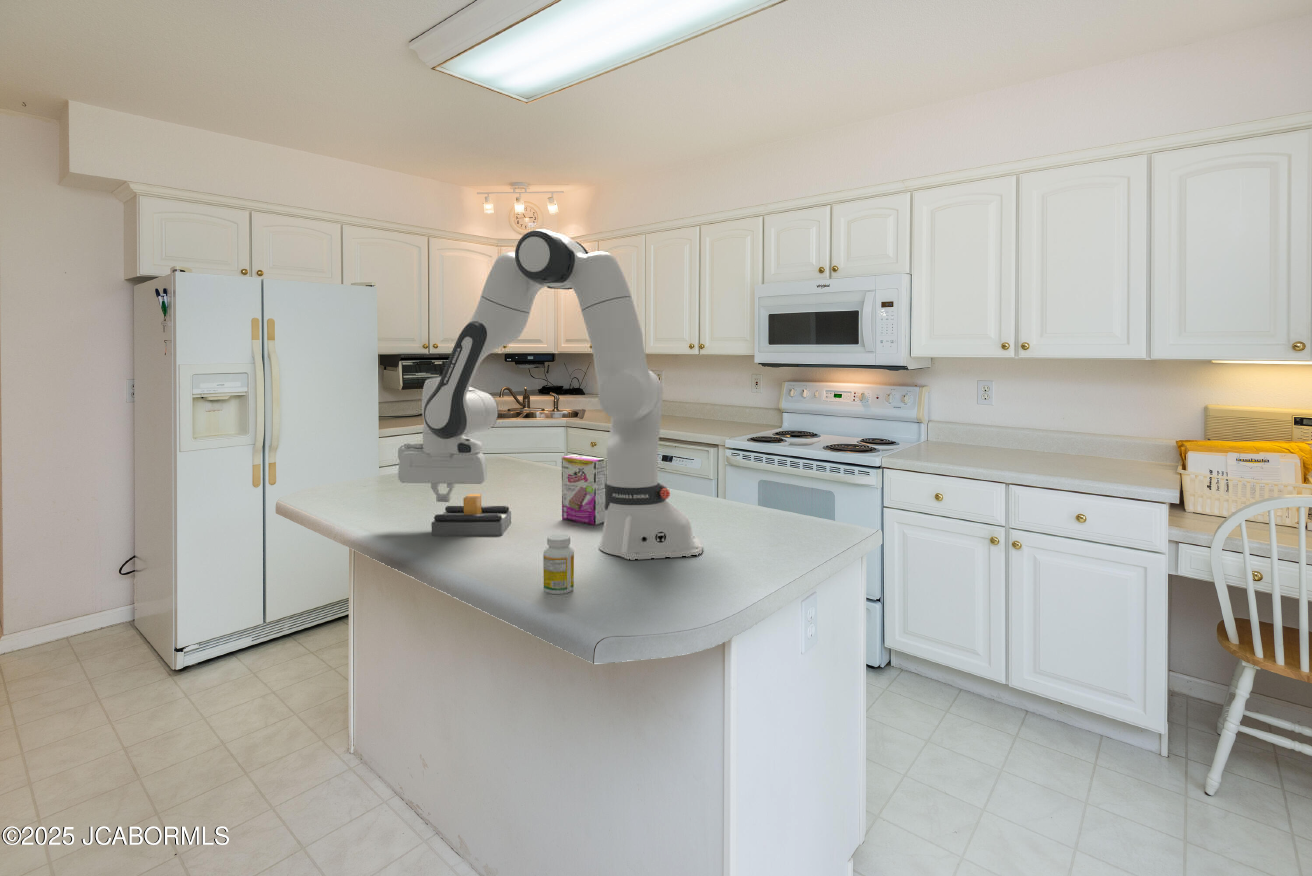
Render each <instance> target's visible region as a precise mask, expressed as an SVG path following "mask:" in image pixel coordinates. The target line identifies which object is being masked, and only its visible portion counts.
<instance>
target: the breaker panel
mask: <svg viewBox="0 0 1312 876" xmlns="http://www.w3.org/2000/svg"><path fill="white" fill-rule="evenodd" d="M444 509H445V510H444V512H443V513H442V514H439V513H437V514H435V515H434V517H433V521H432V522H431V525H430V527H431V536H441V535H442V536H445V537H446V536H453V537H454V536H457V537H458V536H459V537H460V536H463V537H465V536H467V537H468V536H470V537H471V536H473V537H474V536H504V535H503V534H504V533H505V532H506V530H507V529H508V528H509V527H510V525H511V524H512V511H511V510H510V507H509V506H508V505H481V511H482V512H481V513H480V514H464V505H447V506H445V508H444Z"/></svg>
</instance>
